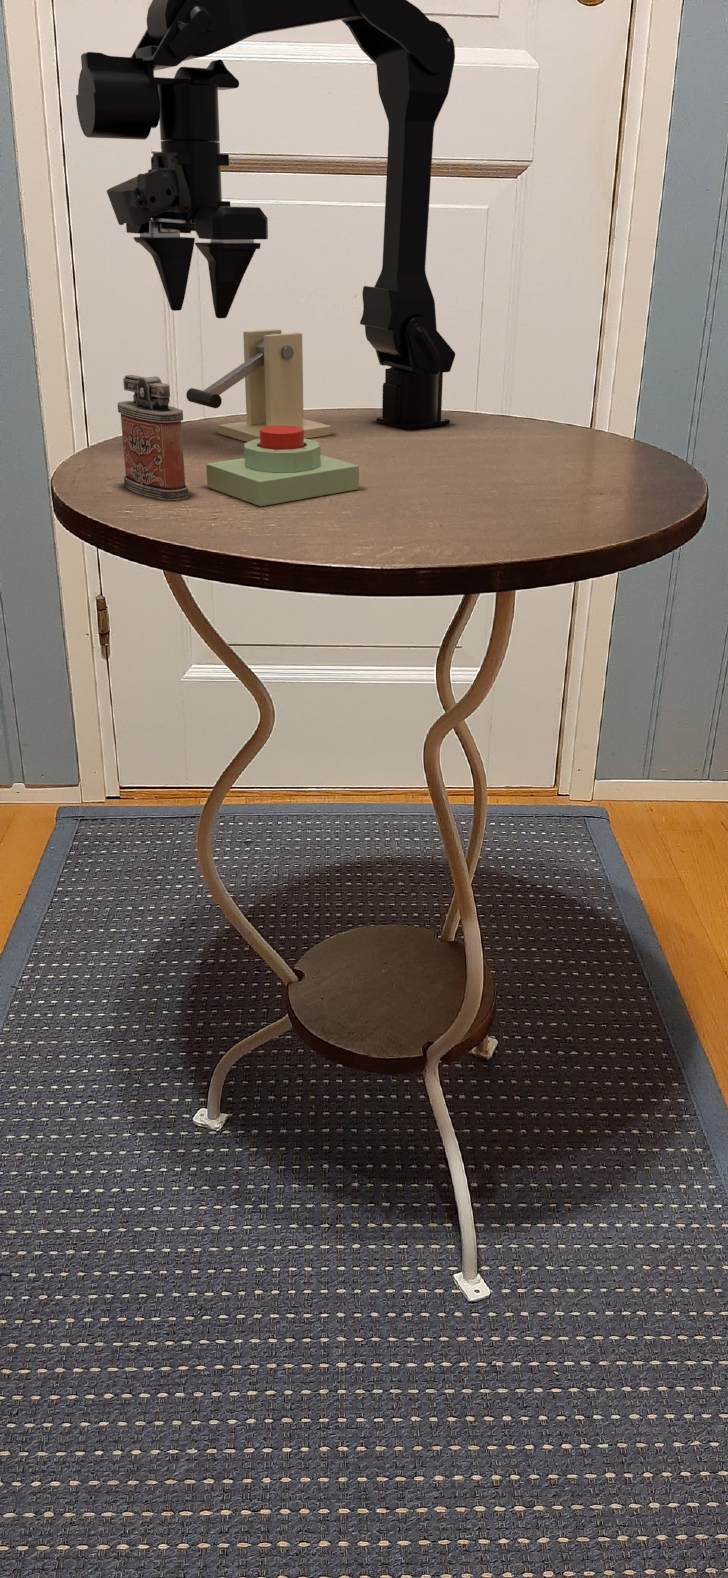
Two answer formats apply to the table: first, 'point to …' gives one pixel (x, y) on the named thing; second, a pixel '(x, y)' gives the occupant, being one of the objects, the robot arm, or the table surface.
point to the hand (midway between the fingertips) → (198, 314)
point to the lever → (227, 380)
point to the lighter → (152, 440)
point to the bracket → (274, 388)
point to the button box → (281, 474)
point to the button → (281, 437)
